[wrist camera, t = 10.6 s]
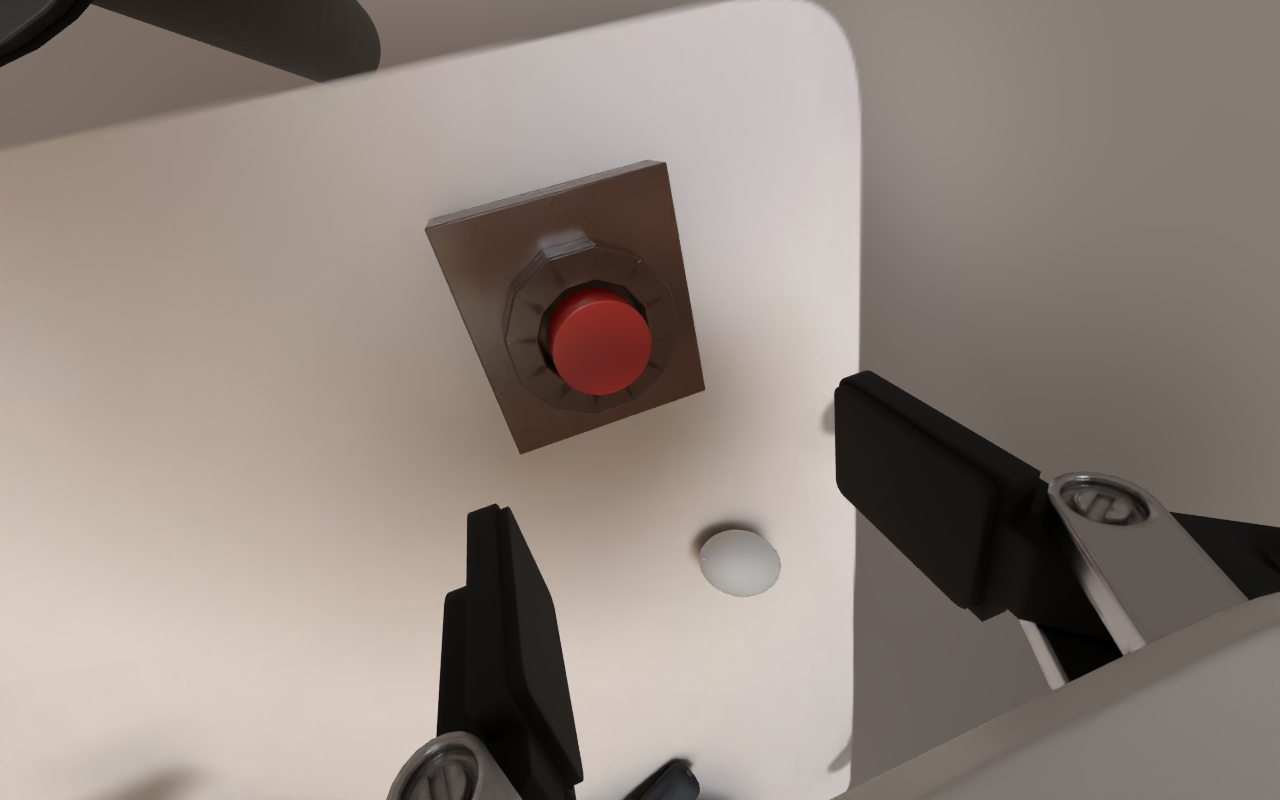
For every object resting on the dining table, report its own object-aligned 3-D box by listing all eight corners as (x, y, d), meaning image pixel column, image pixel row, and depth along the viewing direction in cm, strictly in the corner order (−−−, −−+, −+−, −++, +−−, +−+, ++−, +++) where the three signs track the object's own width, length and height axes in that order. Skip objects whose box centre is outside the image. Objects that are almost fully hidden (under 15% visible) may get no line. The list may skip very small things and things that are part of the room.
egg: (805, 544, 30) (761, 528, 34) (728, 533, 28) (688, 517, 31) (793, 609, 30) (750, 586, 33) (713, 604, 27) (675, 580, 31)
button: (533, 303, 18) (538, 318, 17) (627, 275, 19) (640, 286, 17) (562, 388, 20) (569, 408, 19) (647, 359, 21) (660, 377, 19)
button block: (428, 219, 19) (419, 237, 16) (648, 159, 21) (683, 164, 17) (516, 430, 24) (523, 478, 21) (688, 371, 26) (721, 407, 22)
